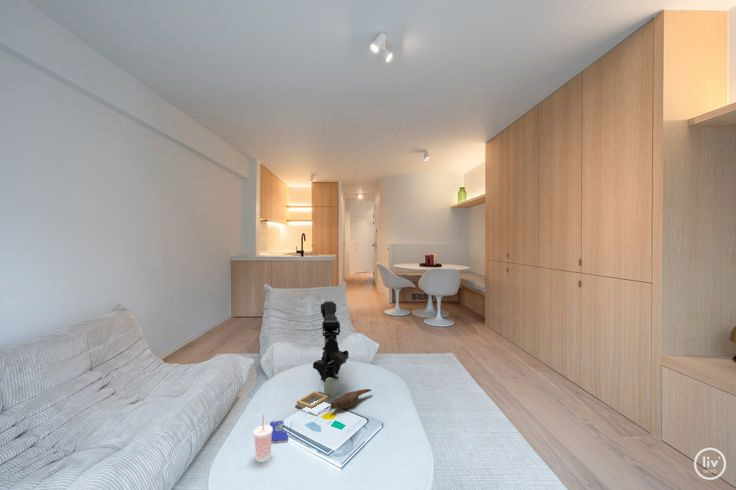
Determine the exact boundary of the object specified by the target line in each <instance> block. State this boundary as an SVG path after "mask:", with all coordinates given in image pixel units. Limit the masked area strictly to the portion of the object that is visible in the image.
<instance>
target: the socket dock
mask: <svg viewBox="0 0 736 490" xmlns="http://www.w3.org/2000/svg"><path fill="white" fill-rule="evenodd" d="M336 398H338V396H334V395H329V394H326V393H324V392H321V391H311V392H310V393H308V394H306V395H305V396H303V397H301V398H299V399H298V400H297V401H296V404H295V407H294V408H295V409H298V410H300V409H303V408H305V407H308V408H311V409H312V408H314V407H316V406H317V405H319V404H321V403H323V402H325V401H328V402H330V403H331V402H332V401H334V400H335V399H336ZM319 399H320V400H319ZM317 400H318V401H317ZM314 401H317V402H315V403H314V404H312V405H311V403H313V402H314Z"/></svg>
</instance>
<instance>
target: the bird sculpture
mask: <svg viewBox="0 0 736 490" xmlns="http://www.w3.org/2000/svg"><path fill="white" fill-rule="evenodd" d="M369 392H372V388H371V389H370V388H365V389H358V390H353V391H349V392H346V393H344V394H342V395H340V396H337V398H336V399H335V400H334V401H332V402H331V406H330V409H329V410H328V413H330V412H331V411H332V410H336V409H340V410H342V409H349V408H351V407H352V406H354V405H355V404H356V403H357V402H358V401H359V397H361V396H362V395H364V394H367V393H369Z"/></svg>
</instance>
